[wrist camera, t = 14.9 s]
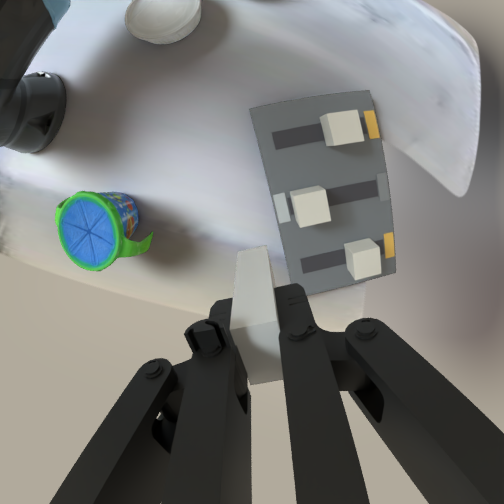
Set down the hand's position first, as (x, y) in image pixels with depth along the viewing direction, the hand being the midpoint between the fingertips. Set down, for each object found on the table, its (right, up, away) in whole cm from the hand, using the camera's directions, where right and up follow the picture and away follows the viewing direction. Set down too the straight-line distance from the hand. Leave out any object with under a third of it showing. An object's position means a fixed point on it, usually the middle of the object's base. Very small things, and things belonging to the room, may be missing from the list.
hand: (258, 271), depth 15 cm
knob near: (+11, +17, +19) cm, 28 cm away
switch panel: (+11, +9, +24) cm, 28 cm away
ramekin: (-13, +36, +15) cm, 41 cm away
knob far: (+15, +1, +25) cm, 29 cm away
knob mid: (+7, +8, +22) cm, 25 cm away
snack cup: (-21, +7, +26) cm, 34 cm away
